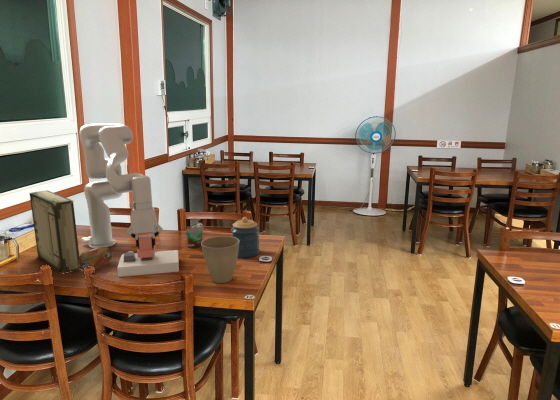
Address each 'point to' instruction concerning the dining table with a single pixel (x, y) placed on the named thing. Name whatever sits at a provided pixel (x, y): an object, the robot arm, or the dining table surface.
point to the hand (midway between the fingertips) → (146, 247)
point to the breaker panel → (150, 264)
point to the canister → (246, 237)
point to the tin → (95, 258)
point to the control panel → (55, 230)
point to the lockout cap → (145, 247)
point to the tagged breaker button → (146, 258)
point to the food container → (194, 235)
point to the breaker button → (129, 257)
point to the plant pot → (220, 257)
